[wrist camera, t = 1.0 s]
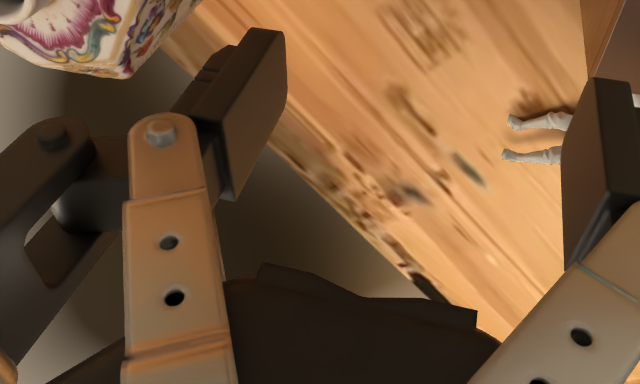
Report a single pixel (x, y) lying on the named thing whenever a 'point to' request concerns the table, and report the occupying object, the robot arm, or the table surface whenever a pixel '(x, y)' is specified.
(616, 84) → the robot arm
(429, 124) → the table surface
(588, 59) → the box
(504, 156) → the soldier figure
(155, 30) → the decorative jar
